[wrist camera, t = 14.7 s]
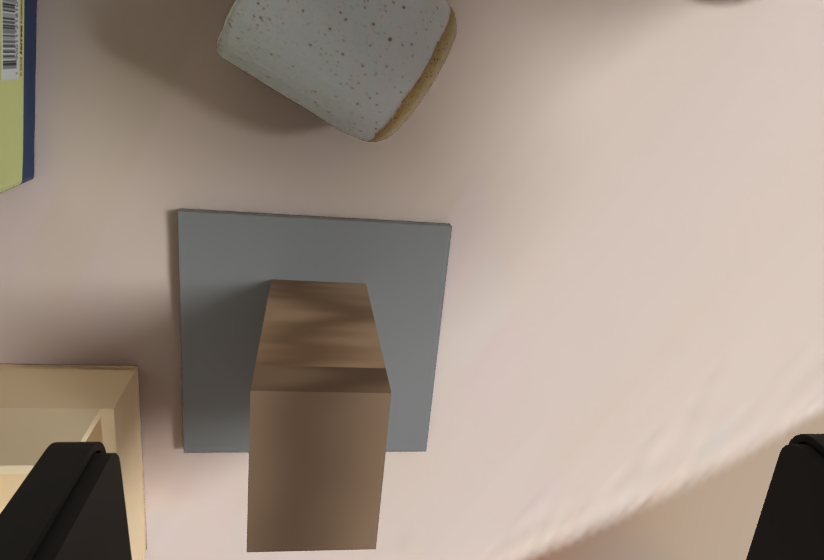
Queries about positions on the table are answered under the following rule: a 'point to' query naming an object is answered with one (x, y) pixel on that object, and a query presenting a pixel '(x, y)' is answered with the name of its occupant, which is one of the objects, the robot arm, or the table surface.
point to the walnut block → (317, 421)
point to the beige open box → (73, 425)
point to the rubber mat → (305, 261)
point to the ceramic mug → (343, 55)
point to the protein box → (17, 91)
